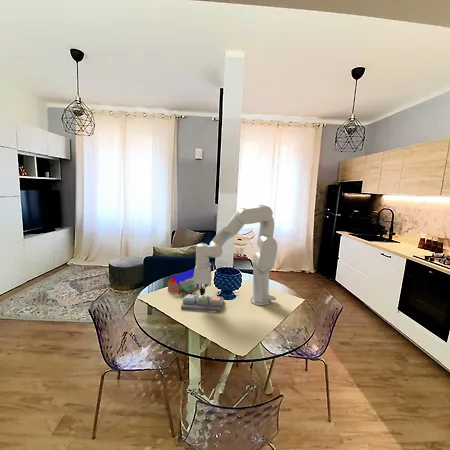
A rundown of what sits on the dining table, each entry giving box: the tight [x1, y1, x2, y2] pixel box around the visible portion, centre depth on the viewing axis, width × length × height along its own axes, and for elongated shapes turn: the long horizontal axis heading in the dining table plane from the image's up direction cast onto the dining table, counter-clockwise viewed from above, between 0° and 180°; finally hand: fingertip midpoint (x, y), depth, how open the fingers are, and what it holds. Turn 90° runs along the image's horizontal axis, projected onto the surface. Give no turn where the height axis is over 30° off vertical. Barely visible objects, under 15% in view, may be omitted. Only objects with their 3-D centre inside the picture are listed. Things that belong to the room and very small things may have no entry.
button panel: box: [180, 294, 225, 313], centre depth 152 cm, size 23×14×4 cm, turn 81°
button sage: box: [197, 293, 209, 301], centre depth 152 cm, size 5×5×2 cm
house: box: [167, 268, 198, 295], centre depth 179 cm, size 12×20×12 cm, turn 143°
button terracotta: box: [211, 296, 222, 302], centre depth 151 cm, size 5×5×2 cm
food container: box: [179, 276, 195, 296], centre depth 169 cm, size 12×6×10 cm, turn 143°
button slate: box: [184, 294, 196, 300], centre depth 154 cm, size 5×5×2 cm
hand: (202, 294), depth 152 cm, fingers closed
